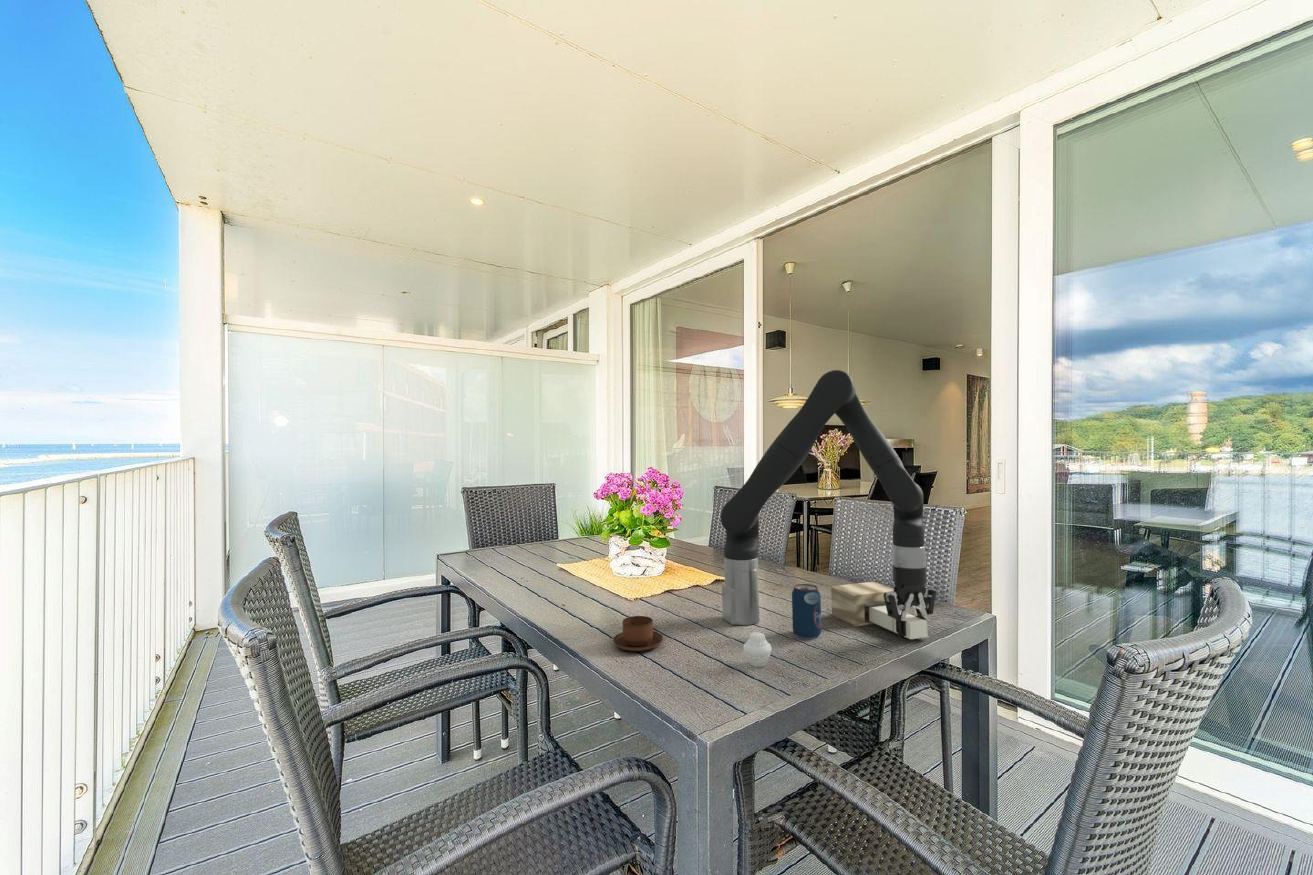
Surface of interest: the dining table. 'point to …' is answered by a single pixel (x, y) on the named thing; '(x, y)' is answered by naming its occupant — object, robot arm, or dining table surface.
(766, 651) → the white rounded piece
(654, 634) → the cup and saucer
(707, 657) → the dining table surface
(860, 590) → the dispenser
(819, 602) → the soda can
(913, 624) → the white two-segment bar
